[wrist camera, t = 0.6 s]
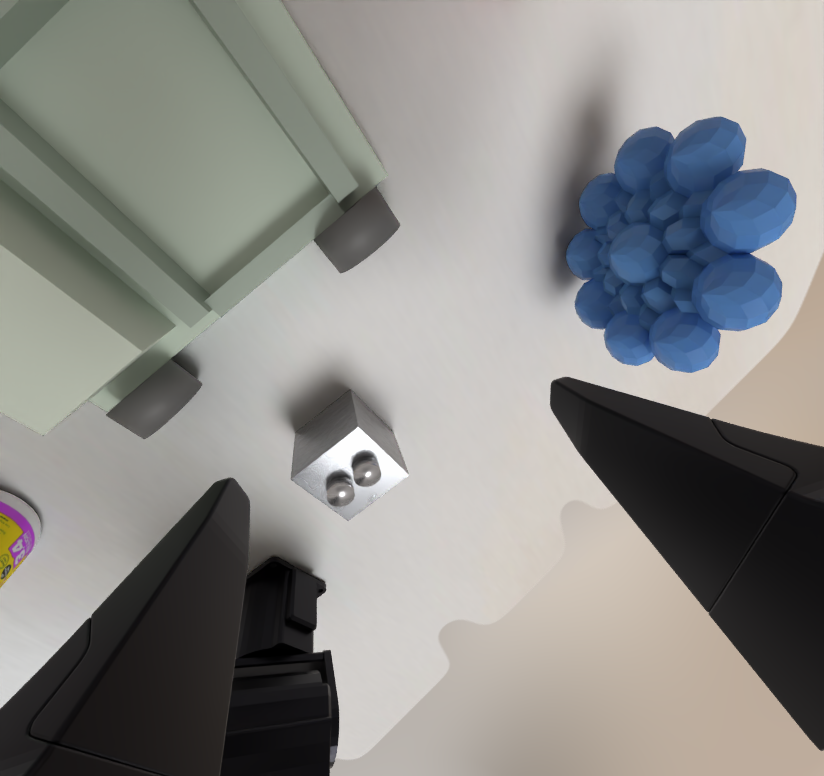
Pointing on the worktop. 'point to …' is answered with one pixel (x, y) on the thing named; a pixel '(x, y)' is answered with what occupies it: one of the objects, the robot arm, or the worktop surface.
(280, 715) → the robot arm
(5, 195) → the chassis
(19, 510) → the supplement bottle
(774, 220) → the grapes
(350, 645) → the worktop surface
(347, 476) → the block
